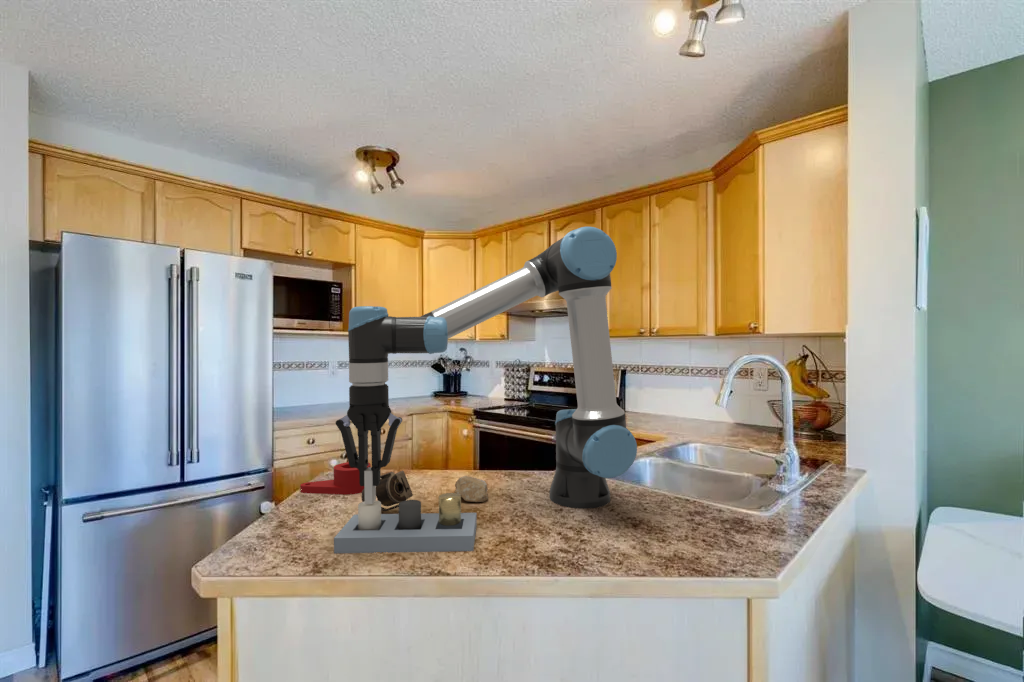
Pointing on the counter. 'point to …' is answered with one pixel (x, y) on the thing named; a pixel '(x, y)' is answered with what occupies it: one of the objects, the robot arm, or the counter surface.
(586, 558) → the counter surface
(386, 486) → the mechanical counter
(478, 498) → the stone
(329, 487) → the lever
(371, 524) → the white rounded cylinder
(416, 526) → the dark gray cylinder
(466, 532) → the grey slotted holder
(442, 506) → the gold cylinder
